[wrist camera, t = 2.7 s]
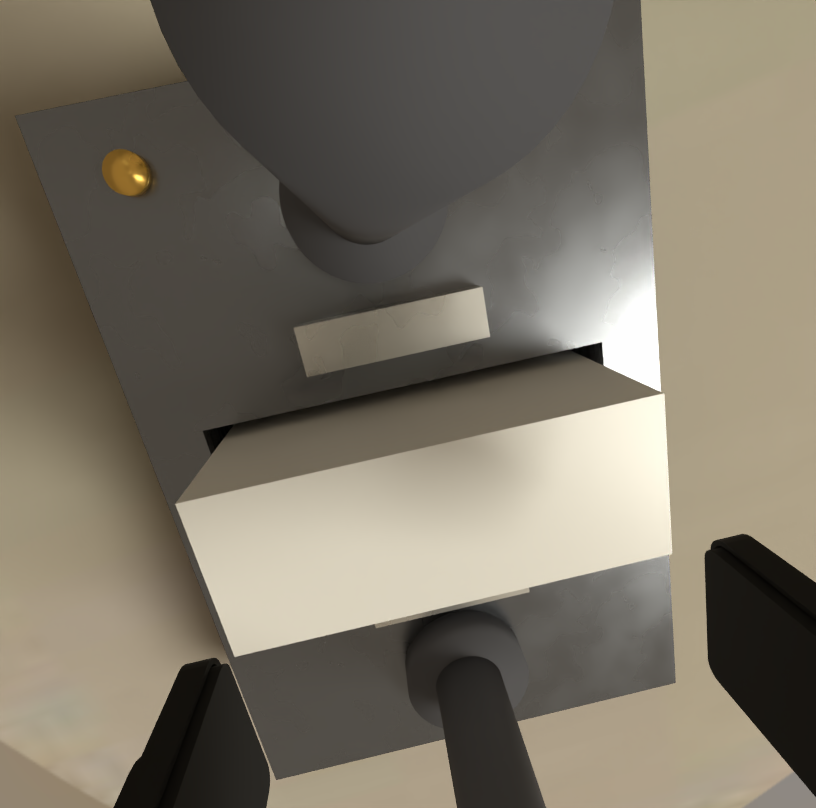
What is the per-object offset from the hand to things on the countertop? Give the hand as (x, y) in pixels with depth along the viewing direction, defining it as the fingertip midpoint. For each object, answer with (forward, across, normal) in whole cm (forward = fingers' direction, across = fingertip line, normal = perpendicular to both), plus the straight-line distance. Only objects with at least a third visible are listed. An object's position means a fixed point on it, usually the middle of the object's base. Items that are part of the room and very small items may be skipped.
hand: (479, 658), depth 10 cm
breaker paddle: (+11, 0, 0) cm, 11 cm away
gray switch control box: (+15, 0, 0) cm, 15 cm away
